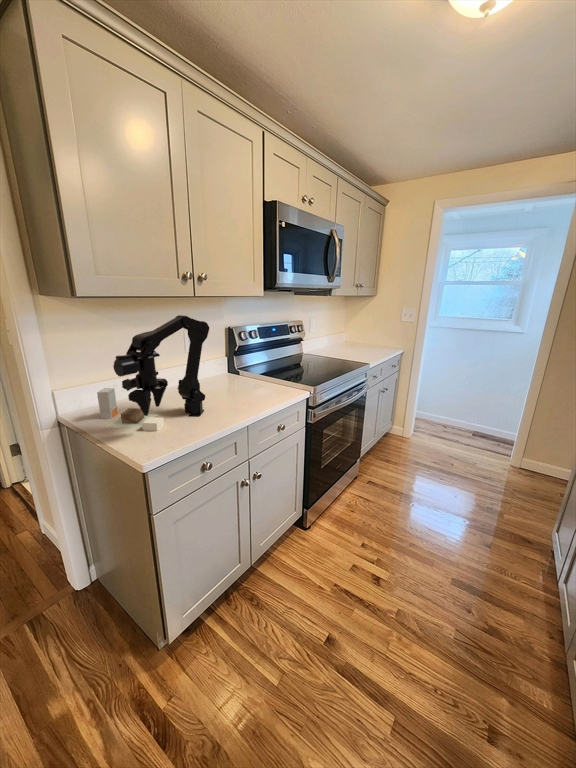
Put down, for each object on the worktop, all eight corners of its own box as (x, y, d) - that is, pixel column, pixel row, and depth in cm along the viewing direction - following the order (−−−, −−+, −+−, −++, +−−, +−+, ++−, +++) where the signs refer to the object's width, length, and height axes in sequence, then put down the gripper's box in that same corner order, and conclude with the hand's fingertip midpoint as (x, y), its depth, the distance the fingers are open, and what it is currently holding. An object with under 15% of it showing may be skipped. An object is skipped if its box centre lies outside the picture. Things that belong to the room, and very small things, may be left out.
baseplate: (158, 416, 132) (158, 414, 132) (142, 430, 118) (142, 428, 118) (125, 415, 132) (125, 413, 132) (106, 429, 119) (105, 427, 119)
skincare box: (112, 420, 127) (107, 392, 124) (101, 420, 127) (96, 392, 123) (118, 414, 133) (114, 387, 129) (108, 414, 132) (103, 387, 129)
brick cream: (164, 427, 122) (163, 417, 121) (157, 433, 117) (156, 423, 115) (150, 426, 122) (149, 417, 121) (143, 432, 117) (142, 422, 116)
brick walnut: (144, 417, 128) (143, 408, 127) (137, 423, 122) (135, 414, 121) (130, 417, 128) (128, 408, 127) (121, 423, 122) (120, 413, 121)
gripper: (138, 363, 122) (143, 401, 126) (109, 376, 104) (116, 420, 109) (166, 364, 122) (170, 402, 126) (142, 377, 104) (148, 421, 108)
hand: (152, 410), depth 117 cm, fingers open, 9 cm apart
